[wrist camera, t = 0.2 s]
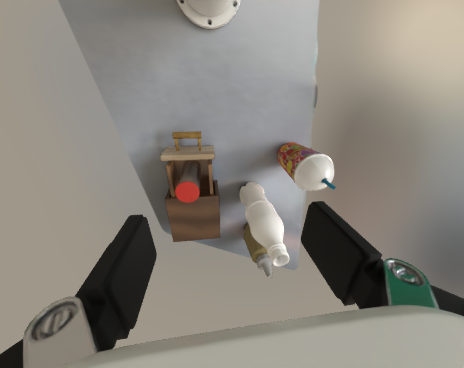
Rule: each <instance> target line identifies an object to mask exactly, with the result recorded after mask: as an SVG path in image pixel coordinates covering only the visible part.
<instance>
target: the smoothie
mask: <svg viewBox="0 0 464 368" xmlns="http://www.w3.org/2000/svg"><path fill="white" fill-rule="evenodd" d="M277 159H278V162H279V163H280V165H281V166H282V167H283V168H284V170H285V171H286V172H287V173H288V174H289V176H290V177H291V178H292V179H293V181H294V182H295V183H296V184H297V186H298V187H299V188H300V189H302V190H306V191H317V190H321V189H324V188H326V187H327V186H329V187H330V188H331V189H335V186H334V185H332V184H331V182H332V180H333V178H334V167H333V162H332V160H331V159H330V158H329V157H328V156H327V155H324V154H321V153H319V152H316V151H314V150H311V149H309V148H306V147H304V146H301V145H299V144H296V143H293V142H292V143H287V144H285V145H283V146H282V147H281V148H280V149H279V151H278V154H277Z"/></svg>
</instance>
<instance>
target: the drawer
mask: <svg viewBox="0 0 464 368" xmlns="http://www.w3.org/2000/svg"><path fill="white" fill-rule="evenodd" d="M185 138H198V146H186V147H179V145H178V139H185ZM173 139H175V146H176V147H166V149H165V150H164V151H163V153H162V154H161V155H160V158H161V161H169V162H168V163H167V165H166V170H167V176H168V181H169V187H170V192H171V197H177V196H176V194H175V190H176V187H177V185H178V182H179V179H180V176H181V173H182V170H183V167H184V164H185V163H186V162H188V161H196V162H198V163H199V164H200V166H201V176H200V188H199V190H200V194H199V196H201V195H213V177H212V159H215V154H214V146H201V132H173Z"/></svg>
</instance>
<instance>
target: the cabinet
mask: <svg viewBox="0 0 464 368" xmlns="http://www.w3.org/2000/svg"><path fill="white" fill-rule="evenodd" d="M165 203H166V208H167V213H168V218H169V223H170V227H171V232H172V237H173V241H174V242H180V241H191V240H202V239H213V238H220V213H219V192H218V184H217V180H214V181H213V195H201V196H199V197H198V198H197V199H196V200H195V201H193V202H190V203H186V202H182V201H180V200H179V199H178V198H177V197H171V192H170V187H169V190H168V192H167V195H166V197H165Z"/></svg>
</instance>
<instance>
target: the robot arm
mask: <svg viewBox="0 0 464 368" xmlns="http://www.w3.org/2000/svg"><path fill="white" fill-rule="evenodd" d="M181 1H183V2H184V3H183V4H182V3H181ZM177 2H178V4H179V6H180V8H181V10H182V11H183V13H184V14H185V15H186V16H187V18H188V19H189V20H191V21H192V22H193V23H194V24H196V25H198V26H199V27H202V28H205V29H217V28H220V27H222V26H224V25H226V24H227V23H228V22H229V21H230V20H231V19H232V18H233V17H234V15H235V13H236V12H237V10H238V7H239V5H240V2H241V0H177ZM234 4H235V5H236V7H234V6H233V5H234ZM209 22H210V23H211V25H209V24H208V23H209ZM301 242H302V244H303V246H304V248H305V249H306V251H307V252H308V254H309V255H310V257H311V258H312V260H313V262H314V263H315V265H316V266H317V268H318V269H319V271H320V272H321V274H322V275H323V277H324V278H325V280H326V282H327V283H328V285H329V286H330V288H331V290H332V291H333V293H334V294H335V296H336V297H337V298H339V299H340V300H341V301H342V303H343V304H344V305H345V306H346V305H353V304H355V303H356V304H357V306H358V307H359V310H351V311H344V312H338V313H330V314H324V315H317V316H310V317H303V318H297V319H290V320H285V321H277V322H271V323H264V324H258V325H252V326H245V327H238V328H232V329H225V330H220V331H213V332H206V333H200V334H194V335H188V336H181V337H175V338H169V339H163V340H158V341H152V342H146V343H141V344H135V345H130V346H124V347H119V348H115V349H113V347H114V346H115V343H116V341H117V340H120V339H126V338H127V337H128V334H129V331H130V329H133V328H134V326H135V324H136V321H137V318H138V315H139V311H140V308H141V305H142V302H143V299H144V295H145V292H146V289H147V286H148V283H149V280H150V276H151V273H152V270H153V267H154V264H155V261H156V255H157V254H156V249H155V246H154V242H153V238H152V235H151V232H150V228H149V224H148V221H147V218H146V217H143V215H130V216H129V217H128V219H127V220H126V222H125V223H124V225H123V226H122V228H121V229H120V231H119V232H118V234H117V235H116V237H115V239H114V240H113V242H112V243H110V244H109V246H108V247H107V248H106V250H105V251H104V253H103V255H102V256H101V258H100V259H99V261H98V262H97V264H96V265H95V267H94V268H93V270H92V271H91V273H90V274H89V276H88V277H87V279H86V280H85V282H84V283H83V285H82V286H81V288H80V289H79V291H78V292H77V294H76V295H75V297H66V298H63V299H60V300H58V301H56V302H54V303H52V304H51V305H50V306H48V307H46V308H45V309H43V310H42V311H41V312H40V313H39V314H38V315H37V316H36V317H35V318H34V319H33V320H32V321H31V322H30V324H29V325H28V327H27V329H26V330H25V333H24V337H23V339H22V340H21V341H19V342H18V343H16V344H15V345H13V346H12V347H10V348H9V349H7V350H6V351H4V352H3V353H1V354H0V368H464V299H463V298H460V297H458V296H456V295H454V294H451V293H449V292H446V291H444V290H442V289H439V288H437V287H435V286H432V285H430V283H429V281H428V279H427V278H426V276H425V275H424V274H423V273H422V272H421V271H420V270H418V269H417V268H415V267H414V266H412V265H411V264H409V263H407V262H404V261H402V260H398V259H392V258H390V259H386V260H385V261H383V260H382V259H381V256H382V254H381V253H380V252H379V251H377V250H376V249H375V248H374V247H373V246H372V245H371V244H370V243H369V242H368V241H366V240H365V239H364V238H363V237H362V236H361V235H360V234H359V233H358V232H356V231H355V230H354V229H353V228H352V227H351V226H350V225H349V224H348V223H346V221H344V220H343V219H342V218H341V217H340V216H339V215H338V214H337V213H336V212H334V211H333V210H332V209H331V208H330V207H329V206H328V205H327V204H326V203H325V202H323V201H318V202H312V203H311V204H310V205H309V207H308V211H307V215H306V219H305V223H304V227H303V231H302V235H301Z"/></svg>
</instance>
